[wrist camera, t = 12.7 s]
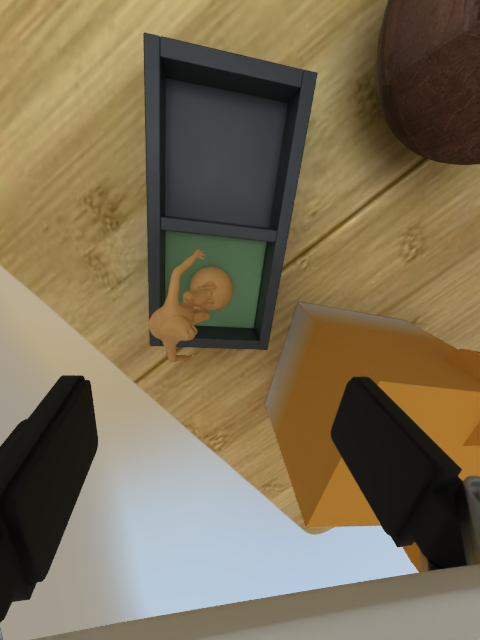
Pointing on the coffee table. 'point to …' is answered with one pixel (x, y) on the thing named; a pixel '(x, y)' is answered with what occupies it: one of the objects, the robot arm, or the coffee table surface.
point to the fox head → (391, 376)
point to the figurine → (189, 305)
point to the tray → (222, 178)
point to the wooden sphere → (432, 77)
